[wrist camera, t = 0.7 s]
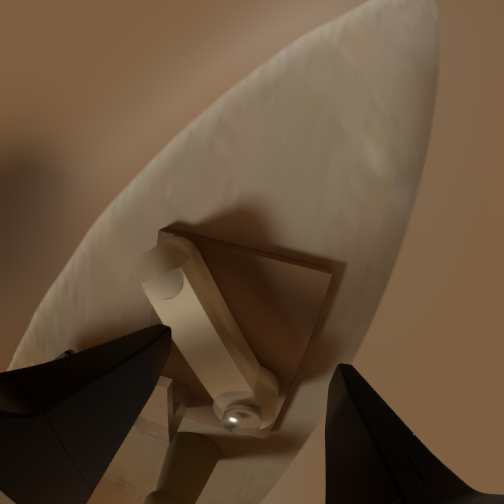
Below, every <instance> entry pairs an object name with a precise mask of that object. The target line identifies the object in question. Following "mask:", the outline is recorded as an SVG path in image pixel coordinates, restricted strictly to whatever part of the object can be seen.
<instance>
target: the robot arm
mask: <svg viewBox="0 0 504 504" xmlns="http://www.w3.org/2000/svg"><path fill="white" fill-rule="evenodd" d="M171 348H172V330H171V327H170V326H167V325H163V324H156V325H153V326H150V327H148V328H145V329H142V330H139V331H137V332H134V333H131V334H128V335H126V336H123V337H120V338H117V339H115V340H112V341H109V342H106V343H103V344H100V345H98V346H95V347H92V348H89V349H86V350H83V351H80V352H77V353H74V354H70V353H69V352H68V351H65V352H64V353H63V354H61V355H60V356H59V357H57V358H56V359H55V360H53V361H50V362H46V363H43V364H39V365H35V366H31V367H26V368H22V369H17V370H12V371H7V372H2V373H0V504H86V503H87V502H88V500H89V498H90V497H91V495H92V493H93V491H94V490H95V488H96V486H97V485H98V483H99V481H100V480H101V478H102V476H103V475H104V473H105V471H106V470H107V468H108V466H109V464H110V463H111V461H112V459H113V458H114V456H115V454H116V453H117V451H118V449H119V448H120V446H121V444H122V443H123V441H124V439H125V438H126V436H127V434H128V433H129V431H130V429H131V428H132V426H133V424H134V423H135V421H136V420H137V418H138V416H139V415H140V413H141V411H142V410H143V408H144V406H145V405H146V403H147V401H148V400H149V398H150V396H151V395H152V393H153V391H154V389H155V387H156V385H157V383H158V380H159V378H160V376H161V374H162V371H163V369H164V367H165V365H166V362H167V360H168V358H169V356H170V353H171ZM325 455H326V500H325V501H326V502H325V504H504V495H497V494H485V493H481V492H479V491H476V490H474V489H472V488H471V487H469V486H468V485H467V484H466V483H465V482H464V481H462V480H461V479H460V478H459V477H458V476H457V475H456V474H454V473H453V472H452V471H451V470H450V469H448V467H446V466H445V465H444V464H443V463H442V462H441V461H440V460H438V458H437V457H436V456H435V455H433V454H432V453H431V452H430V450H429V449H428V448H427V447H426V446H425V445H424V444H423V443H422V442H421V441H420V440H419V439H418V438H417V437H416V435H413V432H412V431H411V430H410V429H409V428H408V427H407V426H406V425H405V423H404V422H403V421H402V420H401V419H400V418H399V417H398V416H397V415H396V413H395V412H394V411H393V410H392V409H391V408H390V407H389V406H388V405H387V403H386V402H385V401H384V400H383V399H382V398H381V397H380V396H379V395H378V393H377V392H376V391H375V390H374V389H373V388H372V387H371V386H370V385H369V384H368V382H367V381H366V380H365V379H364V378H363V377H362V376H361V375H360V374H359V372H358V371H357V370H356V369H355V368H354V367H353V366H352V365H350V364H342V363H340V364H338V366H337V367H336V370H335V372H334V374H333V377H332V379H331V381H330V384H329V389H328V401H327V413H326V425H325Z"/></svg>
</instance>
